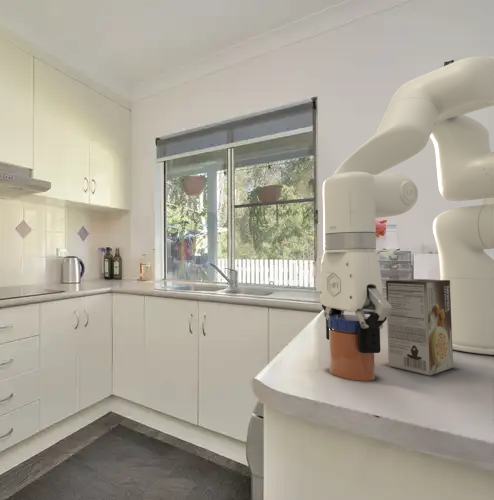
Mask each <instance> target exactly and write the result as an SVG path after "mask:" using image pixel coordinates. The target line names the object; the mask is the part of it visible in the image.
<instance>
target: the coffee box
mask: <svg viewBox="0 0 494 500" xmlns="http://www.w3.org/2000/svg"><path fill="white" fill-rule="evenodd" d="M385 290H386V291H385V292H386V293H385V295H386V300H387V301H388V302H389V303H390V304H391V306H392V309H391V311H390V312H389V314H388V316H387V319H386V322H387V324H386V325H387V354H388V355H387V356H388V366H389V367H391V368H395V369H401V370H404V371H409V372H413V373H418V374H421V375H425V376H433V375H435V374H439V373H442V372H444V371H447V370H451V369H453V368H454V357H453V355H454V353H453V352H454V350H453V349H452V323H451V298H450V280H440V279H426V278H425V279H424V278H405V279H403V278H402V279H401V278H400V279H387V280H385Z"/></svg>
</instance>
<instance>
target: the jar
mask: <svg viewBox="0 0 494 500" xmlns="http://www.w3.org/2000/svg"><path fill="white" fill-rule="evenodd" d="M328 349H329V350H328V351H329V372H330V373H331V374H332V375H334V376H337V377H339V378H342V379H347V380H352V381H359V382H360V381H361V382H369V381H373V380H375V378H376V372H375V371H376V367H375V366H376V364H375V353H361V352H359V351H358V332H347V331H340V330H335V329H331V328H329V340H328Z"/></svg>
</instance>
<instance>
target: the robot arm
mask: <svg viewBox="0 0 494 500" xmlns="http://www.w3.org/2000/svg"><path fill="white" fill-rule="evenodd" d="M493 106H494V56H493V55H478V56H470V57H469V56H468V57H465V58H461V59H458V60H456V61H453V62H451V63H449V64H446V65H444V66H441V67H439V68H436V69H434V70H432V71H429V72H426V73H424V74H421V75H419V76H417V77H414V78H412V79H411V80H408V81H406V82H404V83H403V84H402V85H401V86H400V87H399V88H397V89H396V91H394V94H393V95H392V97H391V99H390V101H389V104H388V106H387V107H386V110H385V112H384V115H383V117H382V119H381V121H380V123H379V125H378V127H377V130H376V132H375V133H374V134H373V136H371V137H369V139H368V140H366V141H365V142H364V143H362V144H361V145H360V146H359V147H358V148H356V150H354V151H353V152H352V153H351V154H350V155H348V156H347V157H346V158H345V159H344V160H343V161H342V162H341V163H340V164H339V165H338V167H337V168H336V169H335V171H334V172H333V174H332V175H331V176H328V177H327V178H326V179H325V180H324V181H323V184H322V211H323V212H322V215H323V216H322V217H323V219H322V220H323V254H322V258H321V264H320V273H319V274H320V275H319V294H318V297H319V302H320V304H321V307H322V309H323V311H324V312H323V316H324V318H325V338H326V340H327V341H329V327H328V326H327V319H328V315H334V314H343V315H344V313H345V312H348V313H349V312H350V313H355V315H357V318H358V320H359V323H360V325H361V327H358V351H359V352H361V353H374V354H380V353H381V329H383V328H384V323H385V322H387V316H388V314H389V312H390V311H391V309H392V306H391V304H390V303H389V302H388V301H387V298H385V297H384V295H383V282H382V273H381V266H380V262H379V256H378V252H377V234H376V233H377V229H376V228H377V225H376V224H377V223H376V219H377V218H389V217H394V216H400V215H402V214H405V213H407V212H408V211H410V210H411V209H412V208H414V206H415V205H416V203H417V201H418V197H419V190H418V187H417V185H416V183H415V182H414V180H412V179H411V178H410V177H408V176H406V175H404V174H400V173H383V172H385V171H387V170H389V169H391V168H393V167H395V166H397V165H400V164H402V163H403V162H405V161H407V160H409V159H411V158H412V157H414V156H415V155H417V154H419V153H420V152H421V151H422V150H424V148H426V146H427V145H428V142H429V140H430V139H431V141H432V143H433V147H434V152H435V164H436V174H437V175H436V176H437V184H438V185H437V186H438V190H439V194H440V195H441V197H442V198H443V199H444V200H446V201H450V202H465V201H475V200H482V199H491V198H494V151H491V143H490V134H489V133H490V132H489V130H488V128H487V127H485V125H484V124H482V123H481V122H479V121H477V120H476V119H474V118H472V117H469V116H467V115H466V114H470V113H472V112H476V111H480V110H483V109H485V108H486V109H487V108H489V107H493ZM432 232H433V236H434V240H435V244H436V248H437V253H438V263H439V280H450V298H451V323H452V350H453V351H458V352H464V353H471V354H480V355H488V356H489V355H490V356H494V259H493V258H492V257H491V256H490V255H489V254H488V253H486V251H485V250H491V249H494V203H491V204H479V205H469V206H462V207H454V208H451V209H448V210H445V211H442V212H441V213H439V214H437V216H435V218H434V220H433V222H432ZM366 315H369V316H366ZM366 317H368V318H367V319H366Z"/></svg>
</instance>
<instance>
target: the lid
mask: <svg viewBox="0 0 494 500" xmlns="http://www.w3.org/2000/svg"><path fill="white" fill-rule="evenodd" d="M368 317H369V316H366V319H367V318H368ZM327 326H328V327H329V328H331V329H335V330H340V331H347V332H358V327H361V325H360V323H359V320H358V318H357V315H356V314H344V313H343V314H334V315H328V319H327Z"/></svg>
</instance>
